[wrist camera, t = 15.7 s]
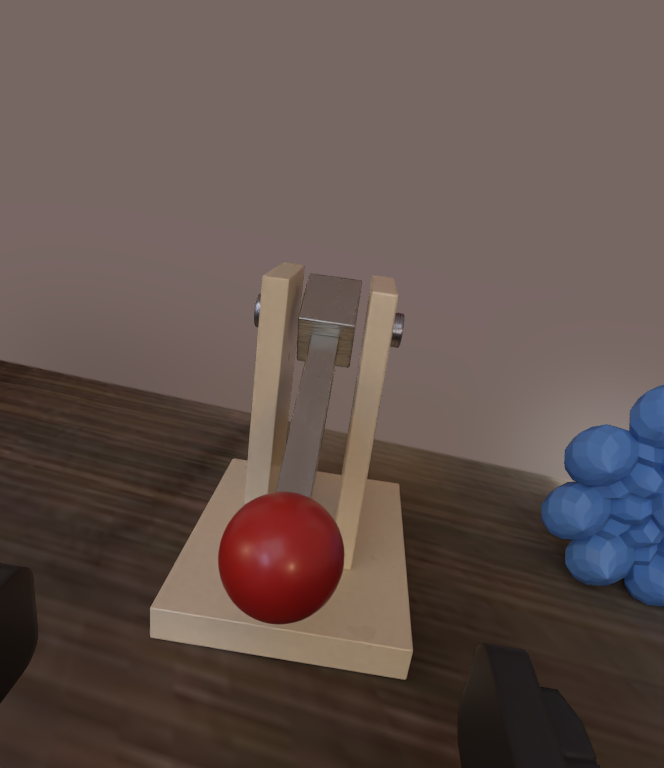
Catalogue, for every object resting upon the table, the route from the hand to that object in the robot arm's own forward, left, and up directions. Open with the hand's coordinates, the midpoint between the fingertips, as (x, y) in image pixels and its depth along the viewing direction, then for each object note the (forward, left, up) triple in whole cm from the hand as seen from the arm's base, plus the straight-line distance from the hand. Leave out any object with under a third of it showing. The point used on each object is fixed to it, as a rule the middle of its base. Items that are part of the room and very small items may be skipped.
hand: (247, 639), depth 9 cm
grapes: (+9, +21, -9) cm, 25 cm away
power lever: (-4, +9, -1) cm, 10 cm away
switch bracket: (-6, +12, -9) cm, 17 cm away
